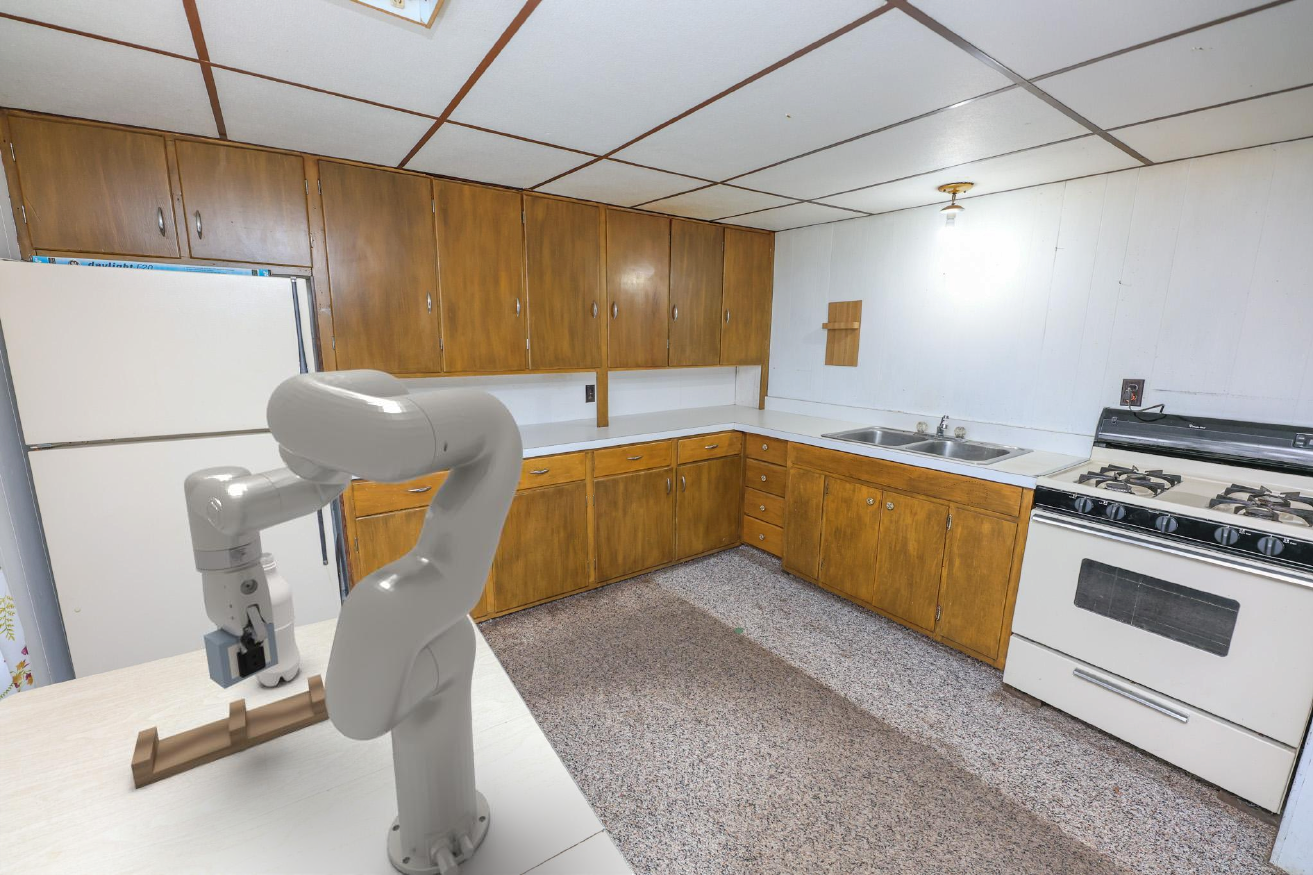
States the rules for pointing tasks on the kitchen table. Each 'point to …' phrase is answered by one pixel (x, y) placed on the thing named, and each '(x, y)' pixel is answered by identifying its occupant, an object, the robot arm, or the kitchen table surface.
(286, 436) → the robot arm
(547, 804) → the kitchen table surface
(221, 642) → the blue-grey rectangular block
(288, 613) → the water bottle
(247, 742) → the wooden divided rack
